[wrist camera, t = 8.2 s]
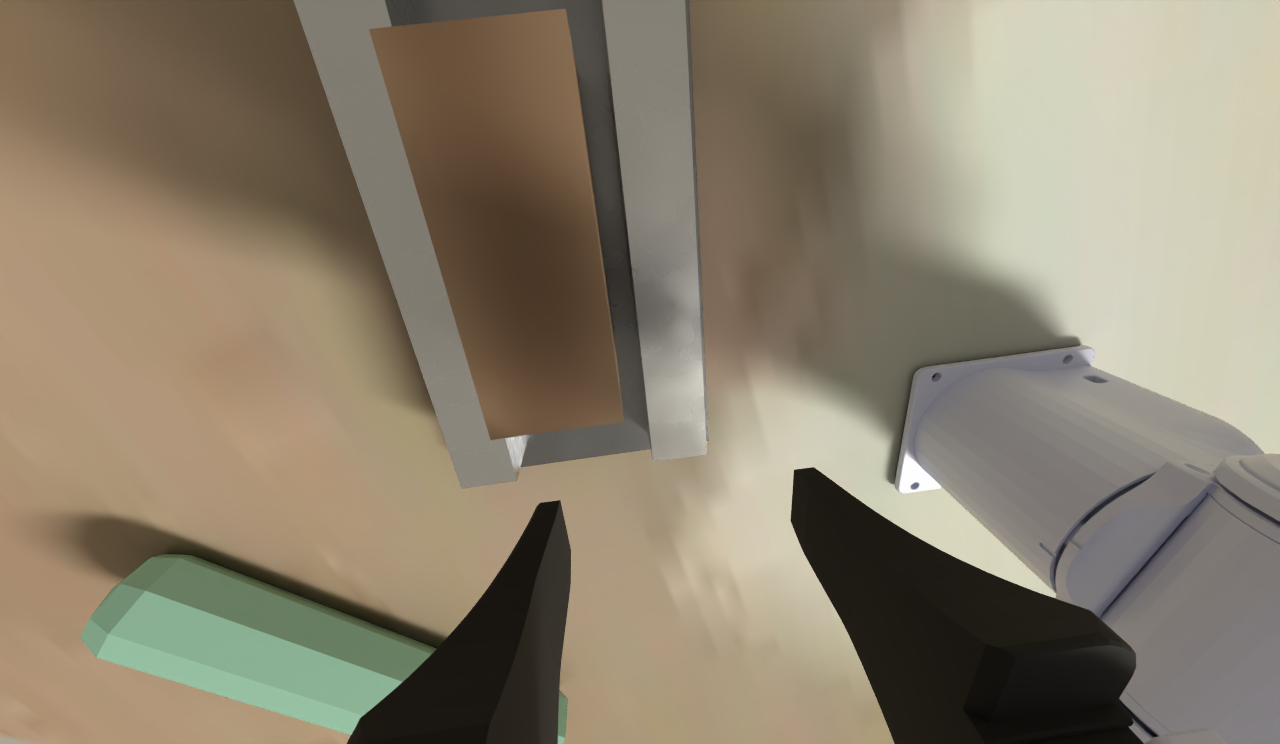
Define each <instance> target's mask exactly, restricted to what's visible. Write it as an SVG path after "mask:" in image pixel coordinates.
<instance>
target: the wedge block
mask: <svg viewBox="0 0 1280 744" xmlns="http://www.w3.org/2000/svg"><path fill="white" fill-rule="evenodd" d="M369 31H370V35H371V38H372V41H373V45H374V48H375V51H376V55H377V58H378V62H379V65H380V68H381V72H382V75H383V78H384V82H385V85H386V89H387V92H388V95H389V99H390V102H391V106H392V109H393V112H394V116H395V119H396V122H397V126H398V129H399V133H400V136H401V139H402V143H403V146H404V149H405V153H406V156H407V160H408V163H409V166H410V170H411V173H412V176H413V180H414V183H415V187H416V190H417V193H418V197H419V200H420V204H421V207H422V210H423V214H424V217H425V220H426V224H427V227H428V231H429V234H430V237H431V241H432V244H433V247H434V251H435V254H436V258H437V261H438V264H439V268H440V271H441V274H442V278H443V281H444V285H445V288H446V291H447V295H448V298H449V302H450V305H451V308H452V312H453V315H454V318H455V322H456V325H457V329H458V332H459V335H460V339H461V342H462V345H463V349H464V352H465V356H466V359H467V362H468V366H469V369H470V372H471V376H472V379H473V383H474V386H475V389H476V393H477V396H478V400H479V403H480V406H481V410H482V413H483V416H484V420H485V423H486V427H487V430H488V433H489V437H490V440H496V439H503V438H510V437H518V436H525V435H532V434H539V433H546V432H553V431H561V430H568V429H575V428H582V427H589V426H597V425H604V424H611V423H618V422H624V418H623V409H622V400H621V391H620V383H619V374H618V365H617V356H616V348H615V339H614V332H613V325H612V317H611V310H610V303H609V296H608V289H607V282H606V274H605V267H604V260H603V253H602V246H601V238H600V231H599V224H598V217H597V210H596V202H595V195H594V188H593V181H592V174H591V166H590V159H589V152H588V145H587V138H586V130H585V123H584V116H583V109H582V102H581V94H580V87H579V80H578V73H577V67H576V62H575V56H574V51H573V46H572V40H571V35H570V29H569V24H568V19H567V13H566V9H557V10H548V11H538V12H528V13H519V14H509V15H499V16H490V17H480V18H471V19H461V20H451V21H442V22H432V23H422V24H413V25H403V26H393V27H384V28H374V29H369Z"/></svg>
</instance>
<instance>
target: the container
mask: <svg viewBox="0 0 1280 744" xmlns="http://www.w3.org/2000/svg"><path fill="white" fill-rule="evenodd" d="M80 638H81V639H82V640H83V642H84V643H85V644H86V645H87V647H88V648H89V649H90V650H91V652H92V653H93V654H94V655H95V657H96V658H99V659H103V660H106V661H109V662H112V663H116V664H119V665H122V666H126V667H129V668H132V669H136V670H139V671H142V672H145V673H149V674H152V675H155V676H159V677H162V678H165V679H168V680H172V681H175V682H178V683H182V684H185V685H188V686H191V687H195V688H198V689H201V690H205V691H208V692H211V693H214V694H218V695H221V696H224V697H228V698H231V699H234V700H238V701H241V702H244V703H247V704H251V705H254V706H257V707H261V708H264V709H267V710H270V711H274V712H277V713H280V714H284V715H287V716H290V717H293V718H297V719H300V720H303V721H307V722H310V723H313V724H317V725H320V726H323V727H326V728H330V729H333V730H336V731H340V732H343V733H346V734H349V735H352V733H353V731H354V729H355V727H356V725H357V723H358V721H359V719H360V718H361V717H362V716H363V715H365V714H366V713H367V712H368V711H370V710H371V709H372V708H373V707H374V706H375V705H377V704H378V703H379V702H380V701H381V700H382V699H384V698H385V697H386V696H387V695H388V694H389V693H391V692H392V691H393V690H394V689H395V688H396V687H398V686H399V685H400V684H401V683H402V682H403V681H404V680H405V679H407V678H408V677H409V676H410V675H411V674H412V673H413V672H414V671H415V670H416V669H417V668H418V667H419V666H420V665H421V664H422V663H423V662H424V661H425V660H426V659H427V658H428V657H429V656H430V655H431V654H432V653H433V652H434V651H435V650H436V649H437V648H434V647H432V646H429V645H426V644H424V643H421V642H419V641H416V640H413V639H411V638H408V637H406V636H403V635H401V634H398V633H395V632H393V631H390V630H387V629H385V628H382V627H379V626H377V625H374V624H372V623H369V622H366V621H364V620H361V619H358V618H356V617H353V616H351V615H348V614H345V613H343V612H340V611H337V610H335V609H332V608H330V607H327V606H324V605H322V604H319V603H316V602H314V601H311V600H309V599H306V598H303V597H301V596H298V595H295V594H293V593H290V592H288V591H285V590H282V589H280V588H277V587H274V586H272V585H269V584H267V583H264V582H261V581H259V580H256V579H253V578H251V577H248V576H246V575H243V574H240V573H238V572H235V571H232V570H230V569H227V568H224V567H222V566H219V565H217V564H214V563H211V562H209V561H206V560H203V559H201V558H198V557H196V556H193V555H185V554H162V555H158V556H155V557H151V558H149V559H148V560H147V561H146V562H145V563H143V564H142V565H141V566H140V567H138V568H137V569H136V570H135V571H133V572H132V573H131V574H130V575H129V576H127V577H126V578H125V579H124V580H122V581H121V582H120V583H119V584H117V585H116V586H115V587H114V588H113V589H112V590H111V591H110V592H109V594H108V595H107V596H106V597H105V599H104V600H103V601H102V603H101V604H100V605H99V607H98V608H97V609H96V611H95V612H94V613H93V615H92V616H91V617H90V619H89V621H88V623H87V625H86V627H85V629H84V631H83V633H82V635H81V637H80ZM567 704H568V699H567V697H566V696H565V695H564V694H563V693H562V692H561V691H560V690H559V712H558V744H563V742H564V740H565V733H566V718H567Z"/></svg>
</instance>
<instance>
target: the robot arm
mask: <svg viewBox="0 0 1280 744" xmlns="http://www.w3.org/2000/svg"><path fill="white" fill-rule="evenodd" d="M1094 355H1095V351H1094V349H1093V348H1091V347H1088V346H1075V347H1068V348H1061V349H1053V350H1046V351H1038V352H1031V353H1024V354H1016V355H1009V356H1002V357H994V358H987V359H980V360H972V361H965V362H958V363H950V364H943V365H935V366H928V367H923V368H920V369H919V370H917V371H916V373H915V374H914V377H913V382H912V387H911V393H910V399H909V405H908V410H907V416H906V422H905V427H904V433H903V439H902V445H901V450H900V456H899V462H898V467H897V473H896V479H895V484H894V485H895V488H896V489H897V490H898V492H900V493H911V492H918V491H925V490H931V489H938V488H943V489H945V490H946V491H947V492H948V493H949V494H950V495H951V496H952V497H953V498H954V499H955V500H956V501H957V502H958V503H960V504H961V505H962V506H963V507H964V508H965V509H966V510H967V511H968V512H969V513H970V514H971V515H972V516H973V517H975V518H976V519H977V520H978V521H979V522H980V523H981V524H982V525H983V526H984V527H985V528H986V529H987V530H988V531H989V532H991V533H992V534H993V535H994V536H995V537H996V538H997V539H998V540H999V541H1000V542H1001V543H1002V544H1003V545H1004V546H1006V547H1007V548H1008V549H1009V550H1010V551H1011V552H1012V553H1013V554H1014V555H1015V556H1016V557H1017V558H1018V559H1019V560H1021V561H1022V562H1023V563H1024V564H1025V565H1026V566H1027V567H1028V568H1029V569H1030V570H1031V571H1032V572H1033V573H1034V574H1036V575H1037V576H1038V577H1039V578H1040V579H1041V580H1042V581H1043V582H1044V583H1045V584H1046V585H1047V586H1048V587H1049V588H1050V589H1052V590H1053V591H1054V592H1055V593H1056V598H1052V597H1049V596H1046V595H1043V594H1040V593H1038V592H1035V591H1032V590H1030V589H1027V588H1024V587H1022V586H1019V585H1017V584H1014V583H1012V582H1009V581H1007V580H1004V579H1002V578H999V577H997V576H995V575H992V574H990V573H988V572H985V571H983V570H981V569H979V568H976V567H974V566H972V565H970V564H968V563H966V562H963V561H961V560H959V559H957V558H955V557H953V556H951V555H949V554H947V553H945V552H943V551H941V550H939V549H937V548H936V547H934V546H932V545H930V544H928V543H926V542H924V541H923V540H921V539H919V538H917V537H915V536H914V535H912V534H910V533H908V532H907V531H905V530H904V529H902V528H900V527H899V526H897V525H896V524H894V523H892V522H891V521H889V520H888V519H886V518H884V517H883V516H881V515H880V514H878V513H877V512H875V511H874V510H872V509H871V508H869V507H868V506H866V505H865V504H864V503H862V502H861V501H859V500H858V499H857V498H855V497H854V496H852V495H851V494H850V493H848V492H847V491H845V490H844V489H843V488H841V487H840V486H839V485H837V484H836V483H835V482H833V481H832V480H830V479H829V478H828V477H826V476H825V475H824V474H822V473H821V472H820V471H818V470H817V469H815V468H814V467H813V468H805V469H797V470H794V480H793V495H792V510H791V523H792V525H793V528H794V530H795V533H796V535H797V538H798V540H799V543H800V545H801V547H802V550H803V552H804V554H805V556H806V558H807V559H808V561H809V563H810V565H811V567H812V568H813V570H814V572H815V574H816V576H817V577H818V579H819V581H820V583H821V585H822V586H823V588H824V590H825V592H826V593H827V595H828V597H829V599H830V601H831V602H832V604H833V606H834V608H835V609H836V611H837V613H838V615H839V617H840V618H841V620H842V622H843V624H844V626H845V628H846V630H847V632H848V634H849V636H850V638H851V640H852V643H853V645H854V647H855V649H856V652H857V654H858V656H859V658H860V661H861V663H862V665H863V667H864V670H865V672H866V674H867V677H868V679H869V681H870V684H871V686H872V689H873V691H874V693H875V696H876V698H877V700H878V703H879V705H880V708H881V710H882V713H883V715H884V718H885V720H886V723H887V725H888V728H889V730H890V733H891V735H892V738H893V740H894V743H895V744H1280V454H1265V453H1264V452H1263V451H1262V450H1261V449H1260V448H1259V447H1258V446H1257V445H1256V444H1255V443H1254V442H1253V441H1252V440H1251V439H1250V438H1249V437H1247V436H1246V435H1245V434H1243V433H1242V432H1241V431H1240V430H1238V429H1237V428H1235V427H1234V426H1232V425H1230V424H1228V423H1227V422H1225V421H1223V420H1221V419H1218V418H1216V417H1214V416H1211V415H1209V414H1207V413H1204V412H1202V411H1199V410H1197V409H1194V408H1192V407H1189V406H1187V405H1185V404H1182V403H1180V402H1177V401H1175V400H1172V399H1170V398H1168V397H1165V396H1163V395H1160V394H1158V393H1155V392H1153V391H1151V390H1148V389H1146V388H1143V387H1141V386H1138V385H1136V384H1133V383H1131V382H1129V381H1126V380H1124V379H1121V378H1119V377H1116V376H1114V375H1112V374H1109V373H1107V372H1104V371H1102V370H1099V369H1097V368H1094V367H1092V366H1091V364H1092V361H1093V358H1094ZM935 373H936V375H935V377H933V378H932V376H933V375H934V374H935ZM570 584H571V549H570V544H569V539H568V535H567V530H566V525H565V521H564V516H563V511H562V507H561V502H560V500H559V501H552V502H544V503H540V504H539V505H538V506H537V507H536V509H535V512H534V513H533V515H532V517H531V519H530V521H529V523H528V525H527V527H526V529H525V530H524V532H523V534H522V536H521V538H520V539H519V541H518V543H517V544H516V546H515V548H514V549H513V551H512V553H511V554H510V556H509V558H508V559H507V561H506V562H505V564H504V565H503V567H502V568H501V570H500V571H499V573H498V574H497V576H496V577H495V579H494V580H493V582H492V583H491V585H490V586H489V587H488V589H487V590H486V591H485V593H484V594H483V595H482V597H481V598H480V599H479V601H478V602H477V603H476V605H475V606H474V607H473V608H472V610H471V611H470V612H469V613H468V615H467V616H466V617H465V618H464V619H463V620H462V622H461V623H460V624H459V625H458V626H457V627H456V628H455V630H454V631H453V632H452V633H451V634H450V635H449V636H448V638H447V639H446V640H445V641H444V642H443V643H442V644H441V645H440V646H439V647H438V648H437V649H436V650H435V651H434V652H433V653H432V654H431V655H430V656H429V657H428V658H427V659H426V660H425V661H424V662H423V663H422V664H421V665H420V666H419V667H418V668H417V669H416V670H415V671H414V672H413V673H412V674H411V675H410V676H409V677H408V678H407V679H405V680H404V681H403V682H402V683H401V684H400V685H399V686H398V687H396V688H395V689H394V690H393V691H392V692H391V693H389V694H388V695H387V696H386V697H385V698H384V699H382V700H381V701H380V702H379V703H378V704H377V705H375V706H374V707H373V708H372V709H371V710H370V711H368V712H367V713H366V714H365V715H363V716H362V717H361V718H360V719H359V721H358V723H357V725H356V727H355V729H354V731H353V733H352V735H351V736H350V738H349V740H348V742H347V744H558V712H559V683H560V668H561V657H562V649H563V641H564V633H565V625H566V617H567V609H568V601H569V593H570Z"/></svg>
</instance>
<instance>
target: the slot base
mask: <svg viewBox="0 0 1280 744" xmlns="http://www.w3.org/2000/svg"><path fill="white" fill-rule="evenodd" d="M293 1H294V3H295V6H296V9H297V12H298V15H299V18H300V21H301V24H302V27H303V30H304V33H305V35H306V38H307V41H308V44H309V47H310V50H311V53H312V56H313V59H314V62H315V64H316V67H317V70H318V73H319V76H320V79H321V82H322V85H323V88H324V91H325V93H326V96H327V99H328V102H329V105H330V108H331V111H332V114H333V117H334V120H335V122H336V125H337V128H338V131H339V134H340V137H341V140H342V143H343V146H344V149H345V152H346V154H347V157H348V160H349V163H350V166H351V169H352V172H353V175H354V178H355V181H356V183H357V186H358V189H359V192H360V195H361V198H362V201H363V204H364V207H365V210H366V212H367V215H368V218H369V221H370V224H371V227H372V230H373V233H374V236H375V239H376V242H377V244H378V247H379V250H380V253H381V256H382V259H383V262H384V265H385V268H386V271H387V273H388V276H389V279H390V282H391V285H392V288H393V291H394V294H395V297H396V300H397V302H398V305H399V308H400V311H401V314H402V317H403V320H404V323H405V326H406V329H407V331H408V334H409V337H410V340H411V343H412V346H413V349H414V352H415V355H416V358H417V361H418V363H419V366H420V369H421V372H422V375H423V378H424V381H425V384H426V387H427V390H428V392H429V395H430V398H431V401H432V404H433V407H434V410H435V413H436V416H437V419H438V421H439V424H440V427H441V430H442V433H443V436H444V439H445V442H446V445H447V448H448V450H449V453H450V456H451V459H452V462H453V465H454V468H455V471H456V474H457V477H458V480H459V482H460V485H461V488H462V489H463V488H470V487H477V486H484V485H491V484H499V483H506V482H513V481H517V479H518V475H519V471H520V467H525V466H533V465H540V464H547V463H554V462H561V461H568V460H576V459H583V458H590V457H597V456H604V455H611V454H618V453H626V452H633V451H640V450H647V449H651V453H652V458H653V462H655V461H662V460H669V459H676V458H683V457H690V456H697V455H704V454H707V449H706V441H709V440H708V417H707V395H706V373H705V351H704V329H703V306H702V284H701V262H700V240H699V218H698V196H697V173H696V151H695V129H694V107H693V85H692V62H691V40H690V18H689V0H293ZM557 9H566V13H567V19H568V24H569V29H570V35H571V40H572V46H573V51H574V56H575V62H576V67H577V73H578V80H579V87H580V94H581V102H582V109H583V116H584V123H585V130H586V138H587V145H588V152H589V159H590V166H591V174H592V181H593V188H594V195H595V202H596V210H597V217H598V224H599V231H600V238H601V246H602V253H603V260H604V267H605V274H606V282H607V289H608V296H609V303H610V310H611V317H612V325H613V332H614V339H615V348H616V356H617V365H618V374H619V383H620V391H621V400H622V409H623V418H624V422H618V423H611V424H604V425H597V426H589V427H582V428H575V429H568V430H561V431H553V432H546V433H539V434H532V435H525V436H518V437H510V438H503V439H496V440H490V437H489V433H488V430H487V427H486V423H485V420H484V416H483V413H482V410H481V406H480V403H479V400H478V396H477V393H476V389H475V386H474V383H473V379H472V376H471V372H470V369H469V366H468V362H467V359H466V356H465V352H464V349H463V345H462V342H461V339H460V335H459V332H458V329H457V325H456V322H455V318H454V315H453V312H452V308H451V305H450V302H449V298H448V295H447V291H446V288H445V285H444V281H443V278H442V274H441V271H440V268H439V264H438V261H437V258H436V254H435V251H434V247H433V244H432V241H431V237H430V234H429V231H428V227H427V224H426V220H425V217H424V214H423V210H422V207H421V204H420V200H419V197H418V193H417V190H416V187H415V183H414V180H413V176H412V173H411V170H410V166H409V163H408V160H407V156H406V153H405V149H404V146H403V143H402V139H401V136H400V133H399V129H398V126H397V122H396V119H395V116H394V112H393V109H392V106H391V102H390V99H389V95H388V92H387V89H386V85H385V82H384V78H383V75H382V72H381V68H380V65H379V62H378V58H377V55H376V51H375V48H374V45H373V41H372V38H371V35H370V31H369V29H374V28H384V27H393V26H403V25H413V24H422V23H432V22H442V21H451V20H461V19H471V18H480V17H490V16H499V15H509V14H519V13H528V12H538V11H548V10H557Z"/></svg>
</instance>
